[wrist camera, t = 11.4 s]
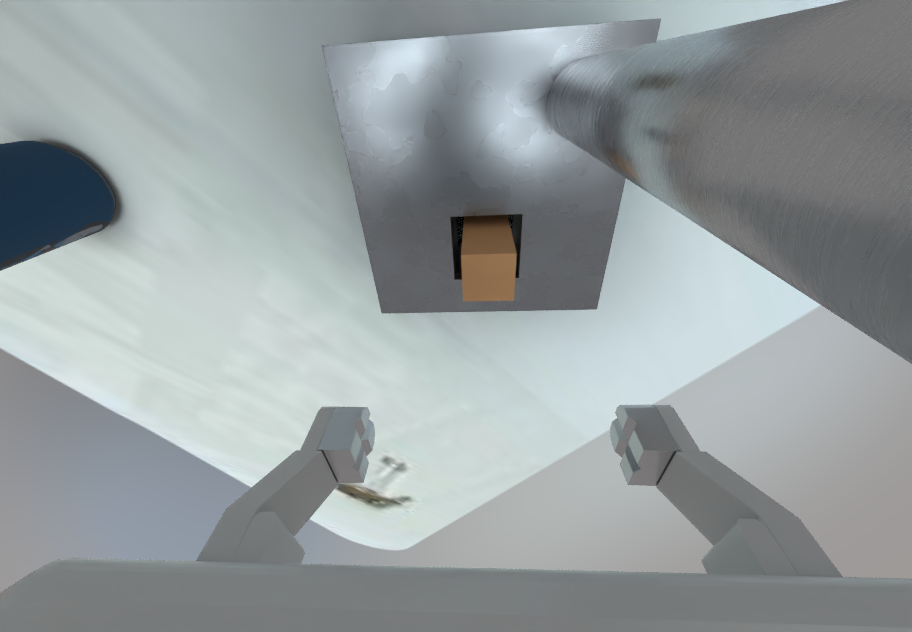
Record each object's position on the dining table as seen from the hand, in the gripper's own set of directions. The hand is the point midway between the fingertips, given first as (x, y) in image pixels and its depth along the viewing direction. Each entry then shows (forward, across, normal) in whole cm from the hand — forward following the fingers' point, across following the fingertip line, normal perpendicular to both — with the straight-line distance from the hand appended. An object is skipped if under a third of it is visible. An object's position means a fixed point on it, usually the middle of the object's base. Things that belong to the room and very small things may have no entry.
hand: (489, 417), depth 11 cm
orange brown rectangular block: (+20, 0, 0) cm, 20 cm away
